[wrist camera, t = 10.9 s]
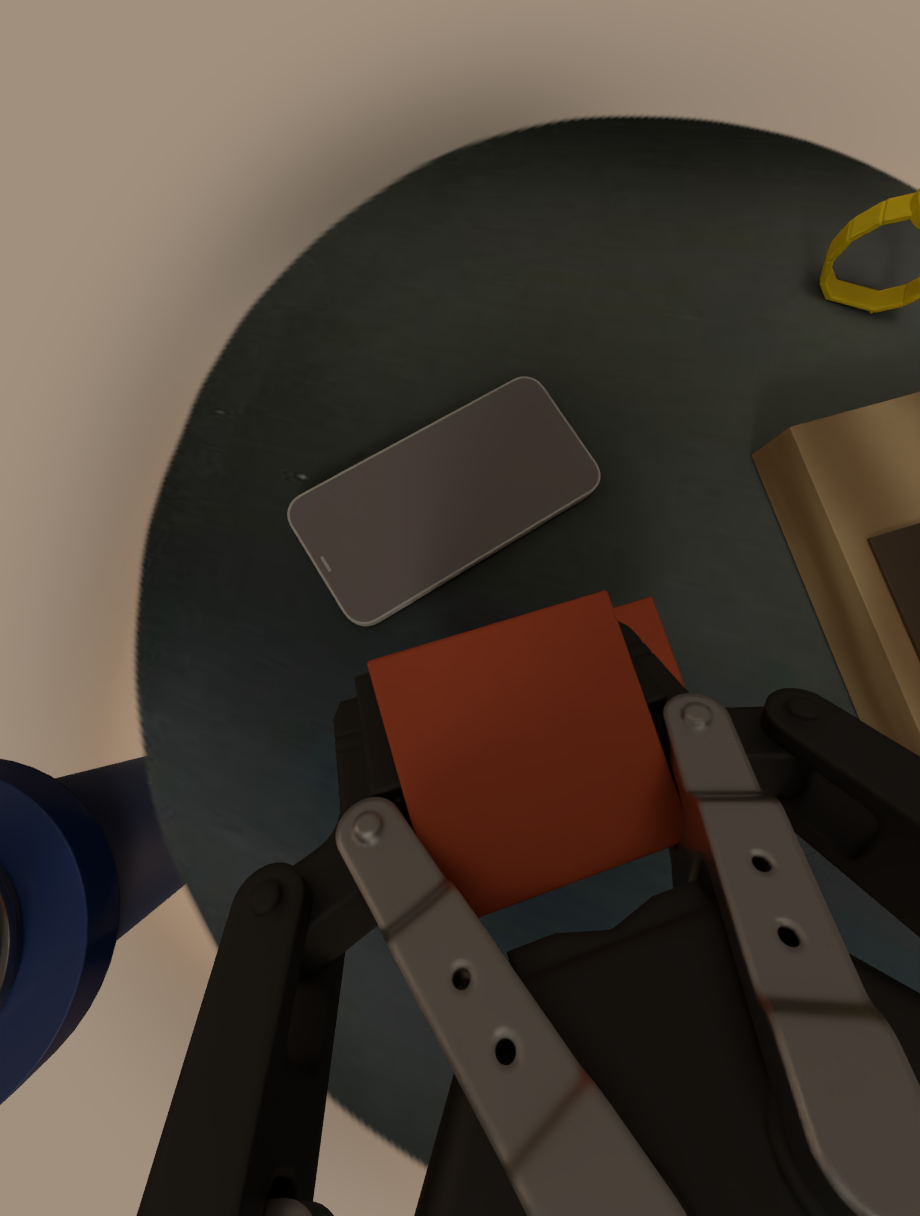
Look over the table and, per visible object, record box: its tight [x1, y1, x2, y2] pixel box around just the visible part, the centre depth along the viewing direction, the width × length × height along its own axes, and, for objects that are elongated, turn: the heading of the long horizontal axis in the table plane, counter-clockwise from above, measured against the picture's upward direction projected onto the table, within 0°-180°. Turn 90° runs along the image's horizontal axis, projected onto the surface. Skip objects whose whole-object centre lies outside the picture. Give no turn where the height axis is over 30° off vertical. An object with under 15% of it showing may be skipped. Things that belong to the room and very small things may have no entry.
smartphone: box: [287, 377, 600, 626], centre depth 25 cm, size 7×1×15 cm
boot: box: [367, 591, 685, 918], centre depth 15 cm, size 10×5×11 cm, turn 107°
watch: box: [820, 189, 920, 314], centre depth 26 cm, size 6×3×6 cm, turn 71°
